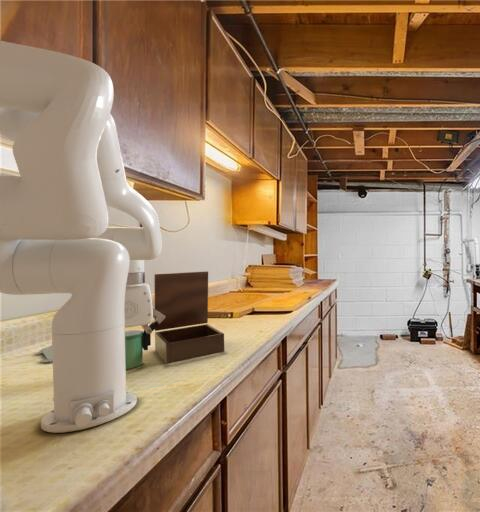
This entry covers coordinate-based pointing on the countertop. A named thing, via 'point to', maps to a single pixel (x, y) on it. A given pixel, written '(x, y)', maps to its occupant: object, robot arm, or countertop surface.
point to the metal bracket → (46, 354)
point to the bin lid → (181, 299)
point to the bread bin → (188, 343)
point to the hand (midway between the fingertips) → (127, 351)
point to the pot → (133, 348)
